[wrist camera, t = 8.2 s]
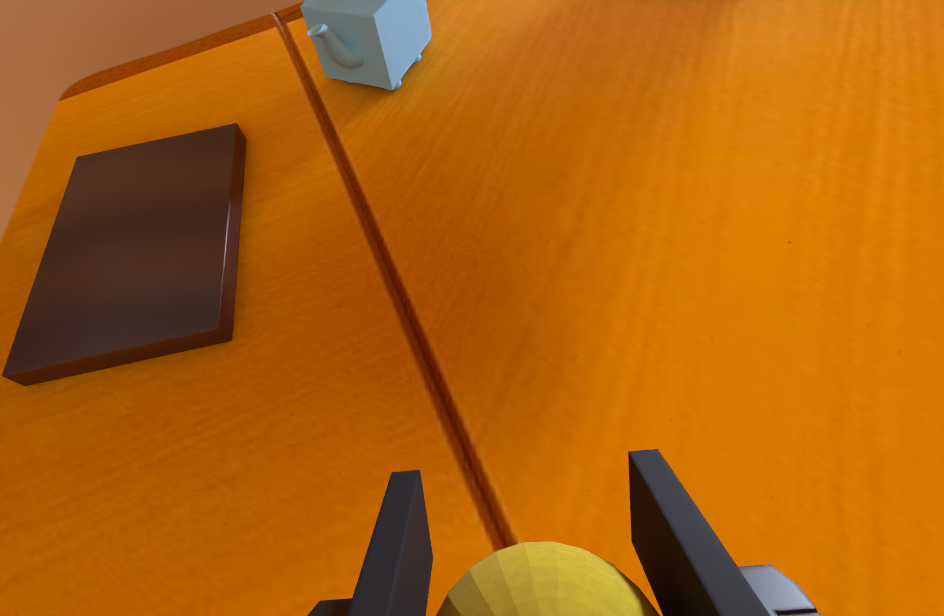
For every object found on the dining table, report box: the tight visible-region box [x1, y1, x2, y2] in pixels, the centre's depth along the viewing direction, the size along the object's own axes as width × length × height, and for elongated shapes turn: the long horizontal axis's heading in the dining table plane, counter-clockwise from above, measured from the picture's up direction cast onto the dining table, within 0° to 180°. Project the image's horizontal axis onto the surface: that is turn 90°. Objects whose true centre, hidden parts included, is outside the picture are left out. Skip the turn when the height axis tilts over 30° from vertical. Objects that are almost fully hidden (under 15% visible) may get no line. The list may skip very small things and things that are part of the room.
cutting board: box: [2, 123, 246, 386], centre depth 32 cm, size 18×12×2 cm, turn 11°
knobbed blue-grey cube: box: [300, 0, 432, 91], centre depth 37 cm, size 12×6×8 cm, turn 157°
